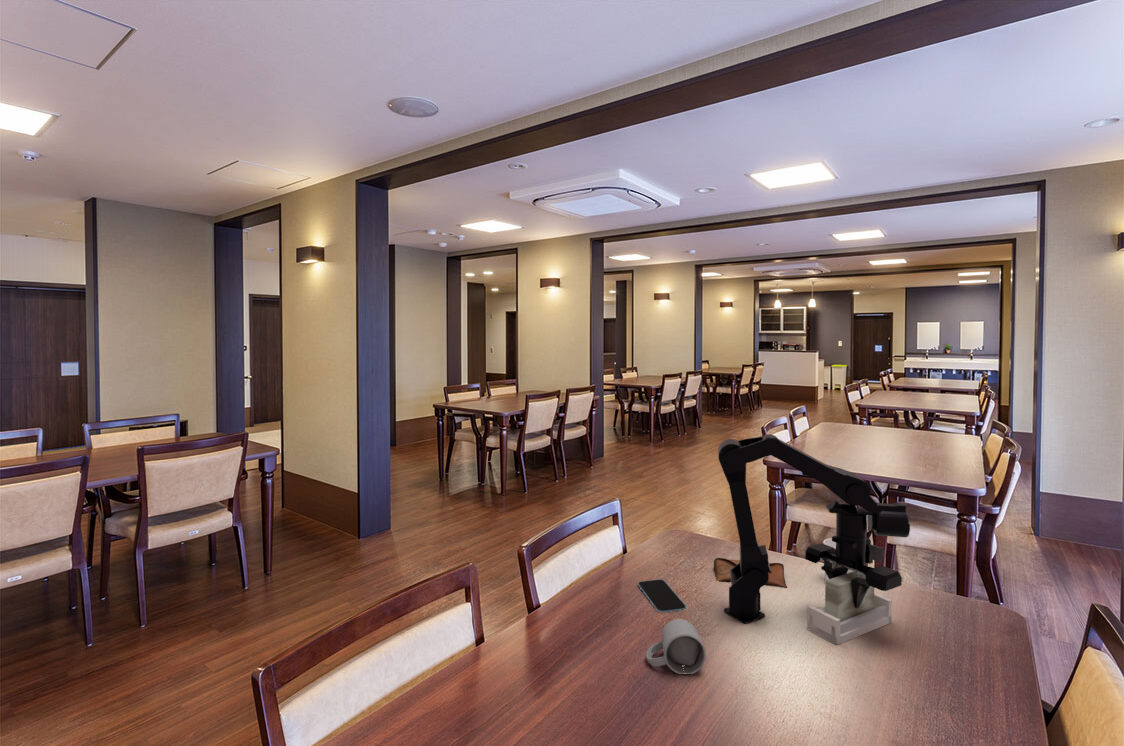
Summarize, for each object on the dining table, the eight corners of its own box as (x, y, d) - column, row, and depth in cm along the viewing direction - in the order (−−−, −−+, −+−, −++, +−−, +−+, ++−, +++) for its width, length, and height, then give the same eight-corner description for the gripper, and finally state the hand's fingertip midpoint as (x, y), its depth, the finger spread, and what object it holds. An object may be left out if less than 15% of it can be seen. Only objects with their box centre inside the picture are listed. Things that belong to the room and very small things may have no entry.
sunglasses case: (714, 581, 140) (714, 554, 143) (713, 585, 146) (713, 558, 149) (789, 588, 136) (787, 560, 138) (785, 591, 142) (783, 564, 145)
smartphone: (658, 611, 124) (636, 581, 139) (658, 616, 124) (636, 585, 139) (688, 607, 126) (663, 578, 140) (688, 612, 126) (663, 582, 140)
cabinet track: (836, 645, 110) (837, 621, 110) (807, 629, 117) (807, 606, 116) (891, 622, 119) (891, 600, 118) (860, 608, 125) (861, 587, 125)
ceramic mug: (697, 650, 109) (696, 613, 109) (706, 675, 101) (705, 635, 101) (644, 651, 110) (643, 614, 109) (648, 676, 102) (647, 636, 101)
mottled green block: (837, 623, 113) (838, 586, 113) (824, 617, 116) (825, 580, 116) (873, 609, 119) (874, 573, 118) (860, 603, 122) (861, 568, 121)
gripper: (918, 540, 112) (916, 614, 113) (836, 514, 128) (835, 579, 129) (885, 550, 107) (883, 628, 108) (803, 522, 123) (802, 590, 124)
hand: (849, 604), depth 117 cm, fingers closed on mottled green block, 3 cm apart
